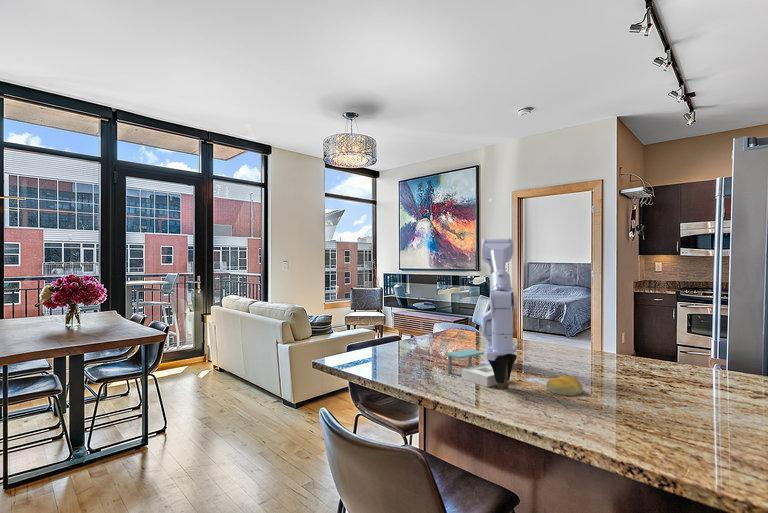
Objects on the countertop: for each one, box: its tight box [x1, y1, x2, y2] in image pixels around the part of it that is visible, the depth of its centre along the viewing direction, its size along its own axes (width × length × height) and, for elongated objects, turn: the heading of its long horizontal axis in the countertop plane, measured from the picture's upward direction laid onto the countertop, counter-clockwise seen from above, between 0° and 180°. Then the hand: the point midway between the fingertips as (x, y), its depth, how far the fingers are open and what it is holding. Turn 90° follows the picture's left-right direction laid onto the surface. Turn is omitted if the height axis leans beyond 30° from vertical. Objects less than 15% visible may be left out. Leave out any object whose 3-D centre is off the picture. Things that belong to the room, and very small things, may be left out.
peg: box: [496, 364, 509, 391], centre depth 111 cm, size 3×3×7 cm
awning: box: [445, 348, 485, 375], centre depth 127 cm, size 11×6×6 cm, turn 124°
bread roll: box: [546, 375, 584, 397], centre depth 108 cm, size 8×9×4 cm
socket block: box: [461, 363, 511, 388], centre depth 119 cm, size 10×10×3 cm
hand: (502, 381), depth 111 cm, fingers closed on peg, 3 cm apart
